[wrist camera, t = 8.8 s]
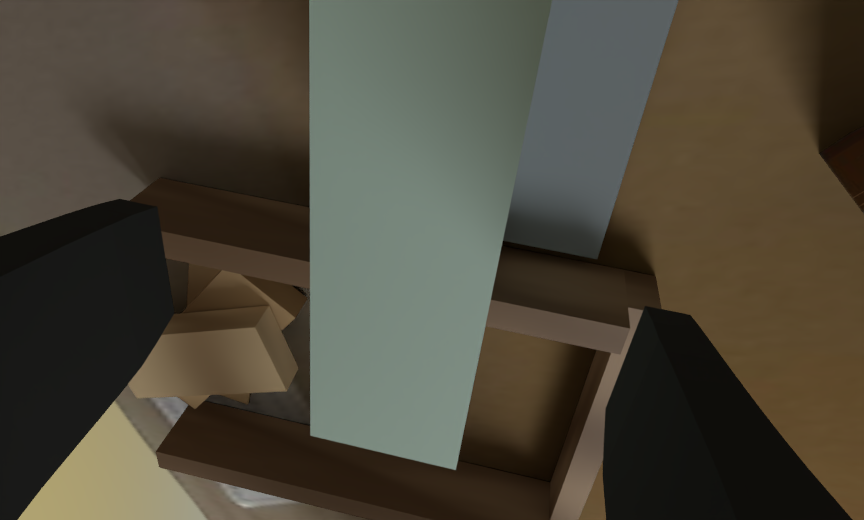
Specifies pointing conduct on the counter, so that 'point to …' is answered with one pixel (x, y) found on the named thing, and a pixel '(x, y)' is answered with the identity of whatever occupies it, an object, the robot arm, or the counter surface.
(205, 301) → the offcut middle
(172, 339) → the offcut top
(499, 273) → the walnut rack
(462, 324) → the sage panel
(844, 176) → the food container
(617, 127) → the slate mat
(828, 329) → the counter surface
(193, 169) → the counter surface
